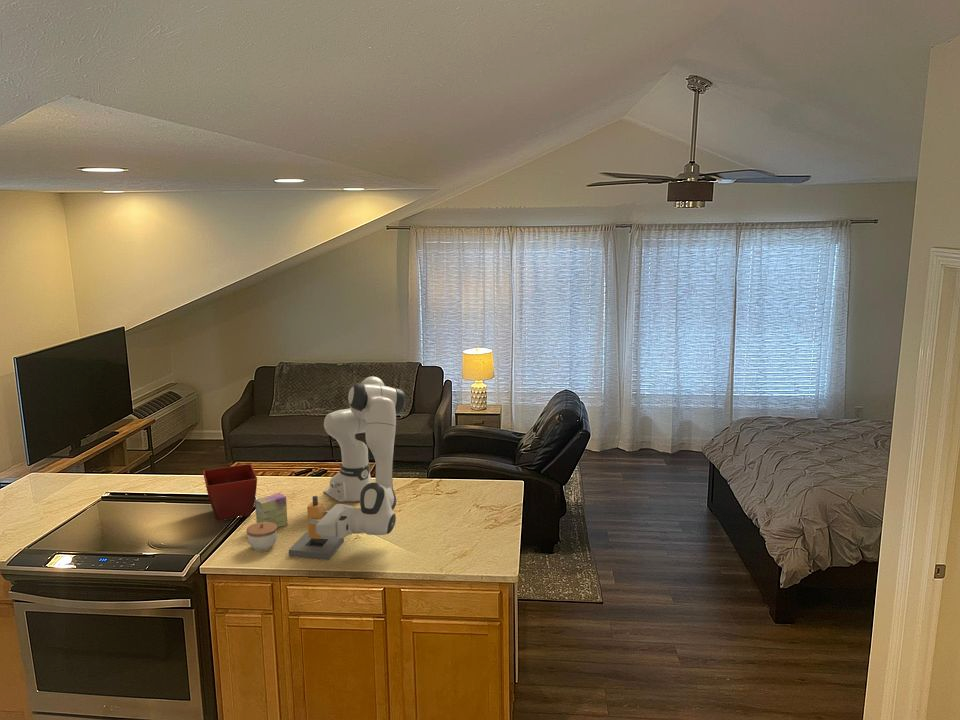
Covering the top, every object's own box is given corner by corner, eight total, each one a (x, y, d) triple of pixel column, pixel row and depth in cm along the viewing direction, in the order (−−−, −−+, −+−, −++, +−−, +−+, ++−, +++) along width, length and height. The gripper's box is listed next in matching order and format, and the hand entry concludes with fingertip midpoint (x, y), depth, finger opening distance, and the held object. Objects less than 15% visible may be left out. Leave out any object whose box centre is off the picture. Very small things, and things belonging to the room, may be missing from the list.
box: (280, 520, 291) (278, 492, 289) (287, 524, 287) (286, 496, 285) (256, 528, 284) (254, 499, 282) (263, 532, 280) (261, 503, 278)
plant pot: (209, 526, 285) (206, 485, 282) (205, 508, 302) (202, 470, 299) (259, 518, 293) (257, 478, 290) (253, 501, 310) (251, 463, 307)
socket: (288, 556, 261) (288, 549, 260) (306, 538, 275) (305, 532, 275) (328, 560, 258) (328, 553, 258) (344, 541, 272) (343, 535, 272)
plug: (308, 538, 264) (306, 498, 261) (313, 532, 268) (311, 494, 265) (320, 538, 263) (318, 499, 260) (325, 533, 267) (323, 494, 264)
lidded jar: (278, 552, 264) (277, 527, 262) (247, 556, 261) (245, 531, 259) (277, 539, 274) (276, 516, 272) (247, 543, 271) (246, 519, 269)
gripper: (359, 501, 271) (324, 498, 274) (339, 523, 251) (301, 520, 254) (360, 517, 272) (325, 514, 275) (340, 540, 253) (302, 537, 255)
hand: (313, 517), depth 264 cm, fingers closed on plug, 4 cm apart
